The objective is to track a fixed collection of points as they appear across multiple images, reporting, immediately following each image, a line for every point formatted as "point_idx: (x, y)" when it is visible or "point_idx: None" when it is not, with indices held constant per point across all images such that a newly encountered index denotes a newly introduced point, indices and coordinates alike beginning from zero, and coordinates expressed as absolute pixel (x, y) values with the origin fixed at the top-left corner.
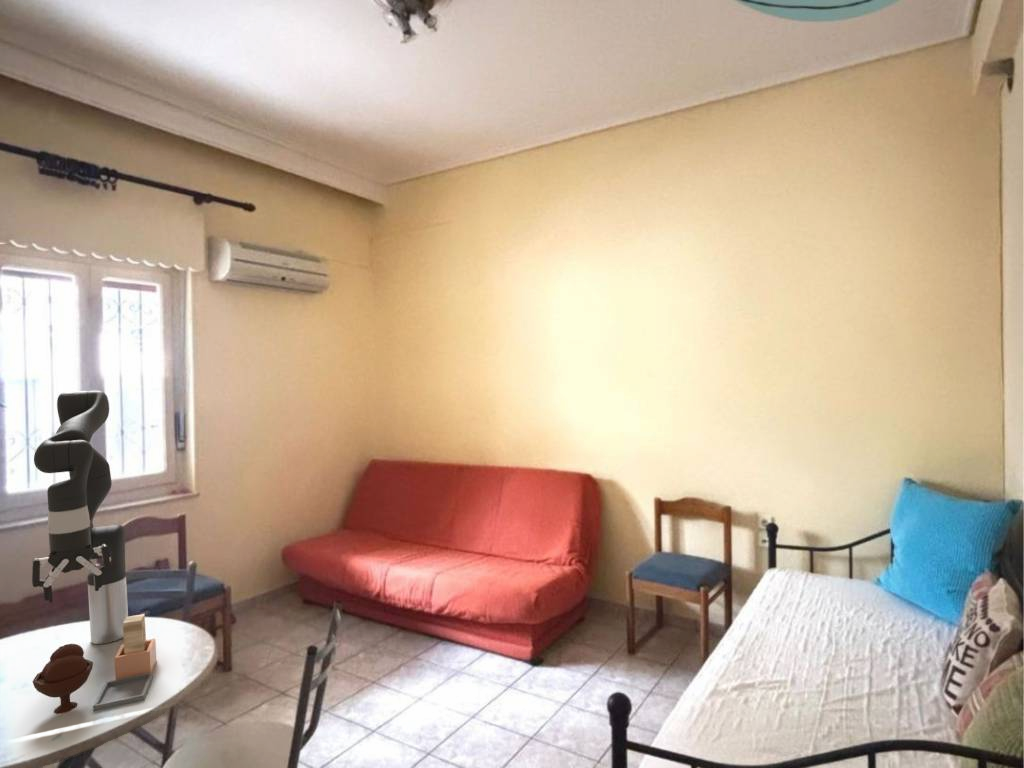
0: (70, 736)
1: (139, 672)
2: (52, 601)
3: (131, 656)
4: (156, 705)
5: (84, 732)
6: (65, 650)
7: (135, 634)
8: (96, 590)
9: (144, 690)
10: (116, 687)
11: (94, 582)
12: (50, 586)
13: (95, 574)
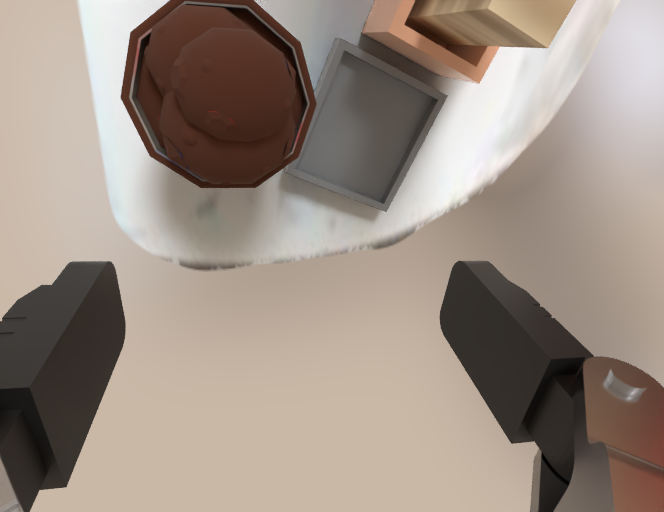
0: (231, 227)
1: (424, 63)
2: (122, 339)
3: (431, 58)
4: (393, 232)
5: (257, 232)
6: (228, 130)
7: (490, 34)
8: (447, 330)
9: (394, 189)
10: (355, 81)
11: (482, 345)
12: (47, 474)
13: (539, 443)
